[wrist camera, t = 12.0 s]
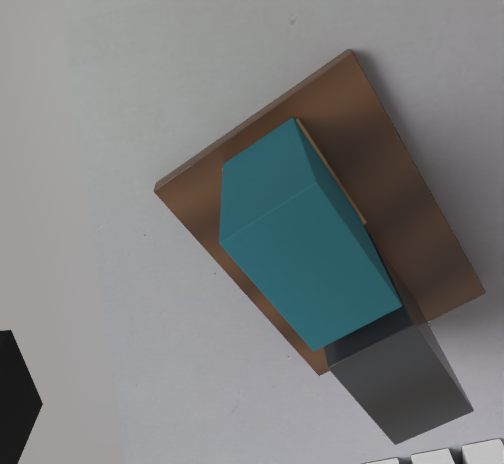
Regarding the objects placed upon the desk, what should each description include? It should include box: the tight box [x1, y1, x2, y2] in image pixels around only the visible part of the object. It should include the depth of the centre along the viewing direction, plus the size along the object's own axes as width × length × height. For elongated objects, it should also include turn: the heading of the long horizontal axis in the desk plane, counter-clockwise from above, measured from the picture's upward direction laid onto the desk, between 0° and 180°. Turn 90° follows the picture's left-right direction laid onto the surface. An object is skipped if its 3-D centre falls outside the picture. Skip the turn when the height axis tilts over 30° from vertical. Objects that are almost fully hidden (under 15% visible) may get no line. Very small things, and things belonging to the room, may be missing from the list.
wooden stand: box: [154, 49, 486, 445], centre depth 28 cm, size 20×14×10 cm
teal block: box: [219, 117, 402, 351], centre depth 25 cm, size 8×5×9 cm, turn 35°
